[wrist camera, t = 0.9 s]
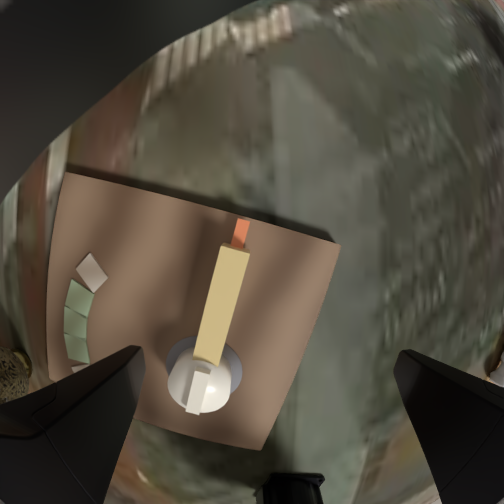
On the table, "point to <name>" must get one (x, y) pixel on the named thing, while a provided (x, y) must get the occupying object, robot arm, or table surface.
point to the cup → (13, 374)
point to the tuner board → (180, 300)
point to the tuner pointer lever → (212, 334)
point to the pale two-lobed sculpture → (498, 373)
